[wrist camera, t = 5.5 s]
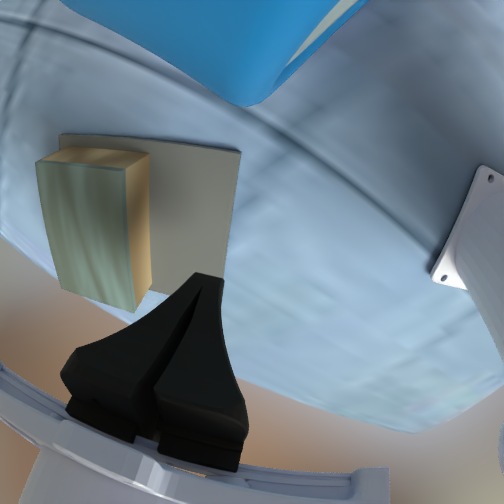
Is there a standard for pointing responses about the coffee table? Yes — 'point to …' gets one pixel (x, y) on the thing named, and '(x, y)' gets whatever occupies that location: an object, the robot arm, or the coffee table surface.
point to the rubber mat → (181, 204)
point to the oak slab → (98, 222)
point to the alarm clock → (226, 37)
